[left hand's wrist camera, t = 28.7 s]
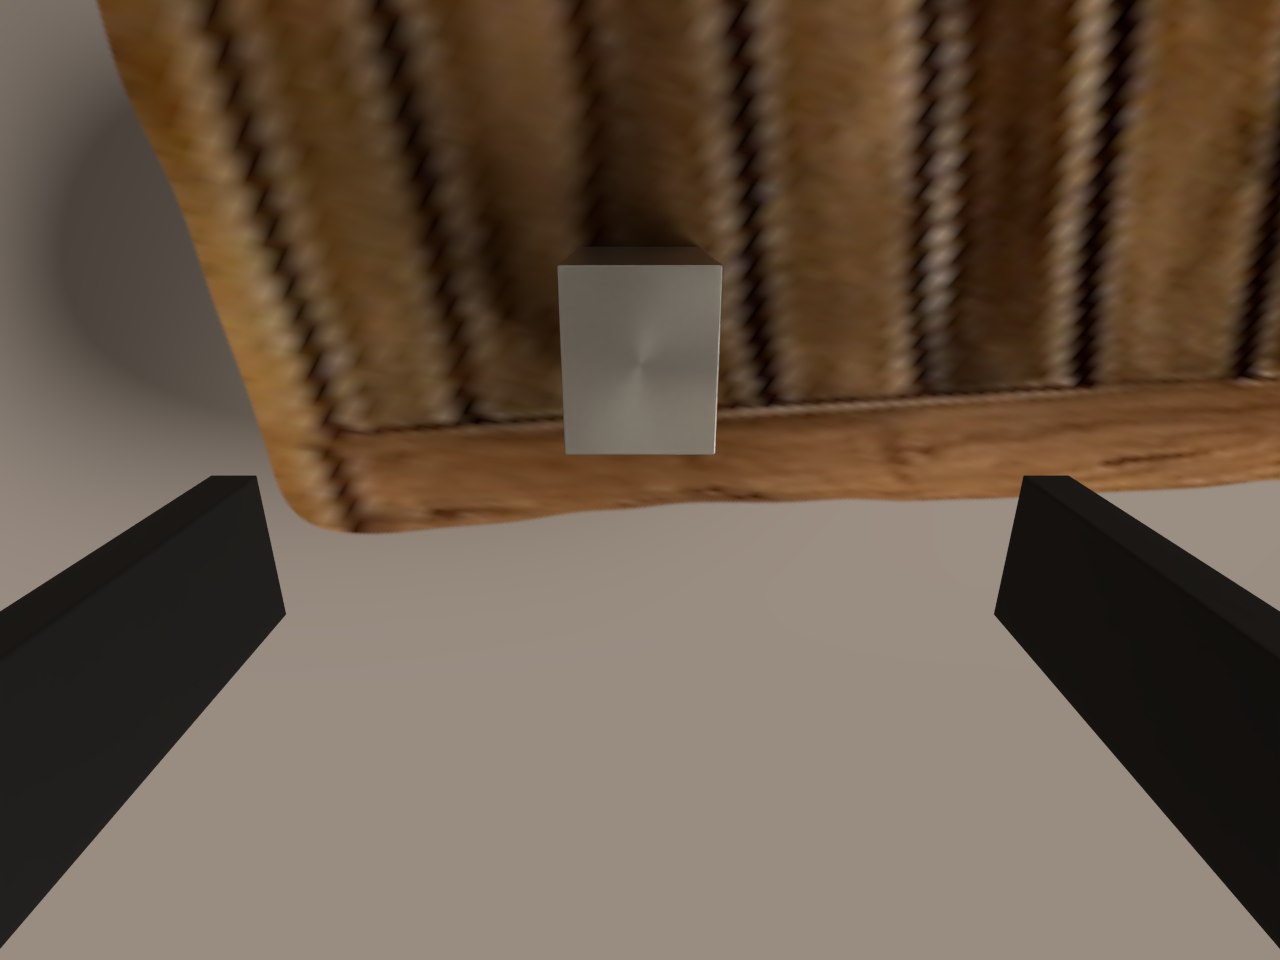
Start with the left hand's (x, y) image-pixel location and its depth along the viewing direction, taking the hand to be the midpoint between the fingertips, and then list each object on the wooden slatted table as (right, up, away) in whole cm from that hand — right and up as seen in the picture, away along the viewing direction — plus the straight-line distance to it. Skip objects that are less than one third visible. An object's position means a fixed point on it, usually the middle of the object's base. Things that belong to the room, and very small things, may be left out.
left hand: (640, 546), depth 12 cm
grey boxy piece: (0, +9, +24) cm, 26 cm away
